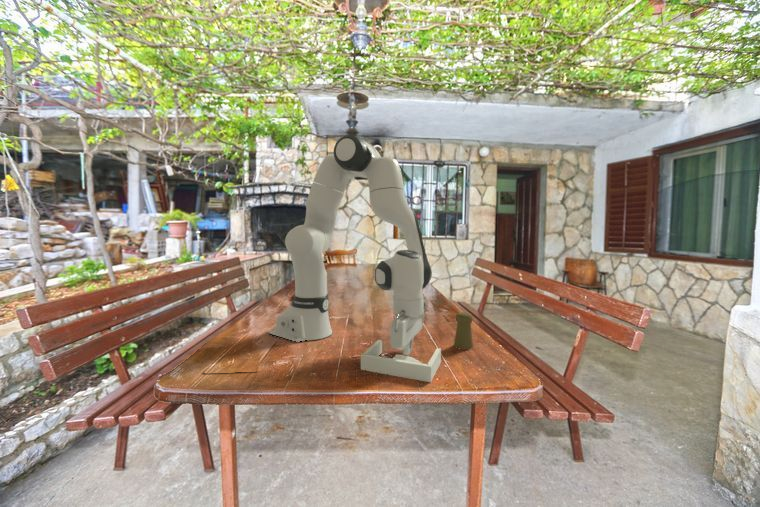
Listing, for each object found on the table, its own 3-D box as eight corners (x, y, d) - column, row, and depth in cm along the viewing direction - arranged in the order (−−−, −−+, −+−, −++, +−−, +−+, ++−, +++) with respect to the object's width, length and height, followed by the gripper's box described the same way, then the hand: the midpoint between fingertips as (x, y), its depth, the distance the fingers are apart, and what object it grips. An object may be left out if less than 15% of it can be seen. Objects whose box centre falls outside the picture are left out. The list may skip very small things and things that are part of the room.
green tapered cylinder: (473, 350, 101) (474, 316, 100) (454, 349, 102) (454, 314, 101) (472, 343, 107) (473, 310, 106) (453, 342, 108) (454, 309, 107)
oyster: (405, 377, 82) (405, 367, 82) (383, 362, 93) (384, 353, 93) (430, 372, 86) (431, 363, 86) (407, 359, 96) (407, 350, 96)
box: (360, 369, 88) (360, 355, 87) (378, 352, 100) (378, 339, 99) (430, 382, 81) (431, 366, 80) (440, 362, 93) (441, 348, 92)
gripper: (406, 317, 83) (406, 369, 84) (427, 300, 102) (426, 343, 103) (384, 314, 85) (383, 365, 87) (408, 298, 104) (407, 340, 105)
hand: (407, 353), depth 95 cm, fingers closed
